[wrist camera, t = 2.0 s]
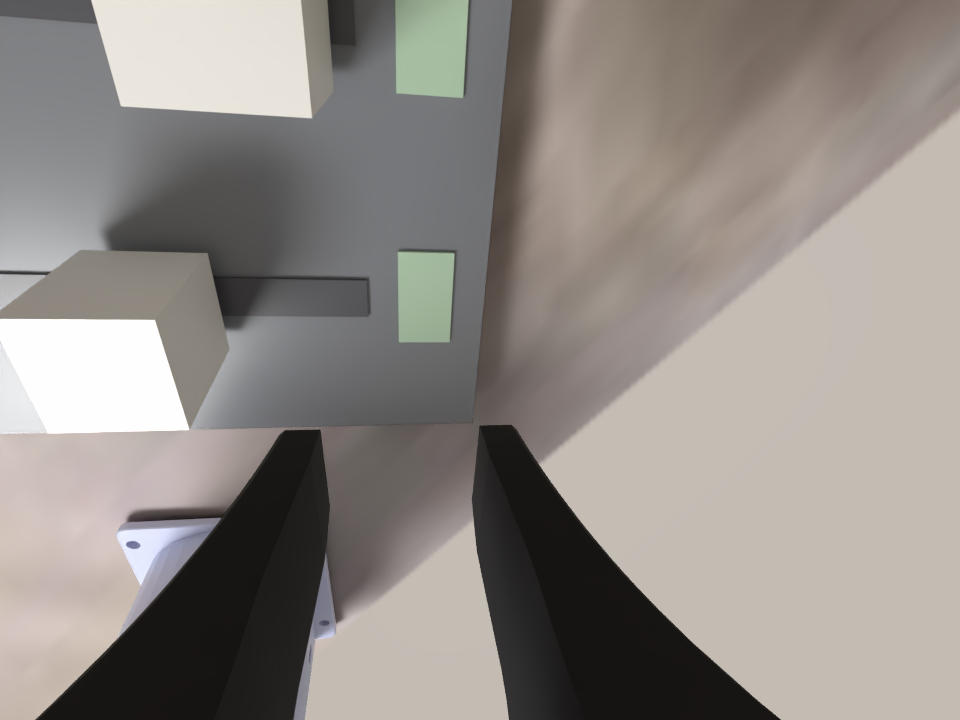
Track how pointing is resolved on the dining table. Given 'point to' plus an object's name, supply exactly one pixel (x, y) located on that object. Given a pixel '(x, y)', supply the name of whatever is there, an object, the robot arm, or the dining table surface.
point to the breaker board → (277, 208)
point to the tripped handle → (118, 341)
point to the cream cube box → (219, 54)
